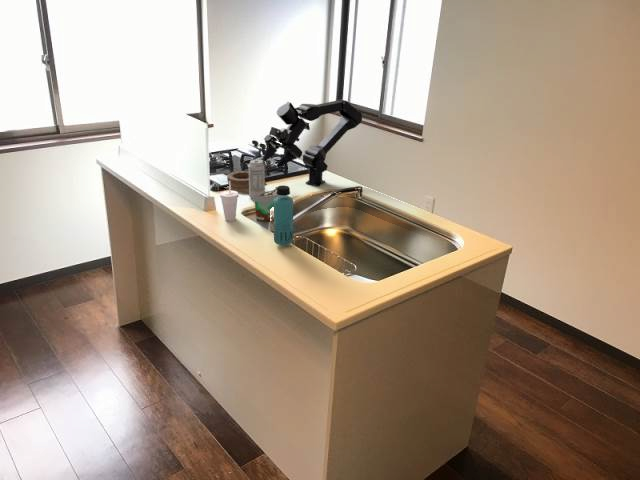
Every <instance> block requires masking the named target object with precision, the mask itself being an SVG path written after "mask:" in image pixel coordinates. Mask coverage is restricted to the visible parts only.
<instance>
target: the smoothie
mask: <svg viewBox="0 0 640 480" xmlns="http://www.w3.org/2000/svg"><path fill="white" fill-rule="evenodd" d="M219 197H220V199H221V205H222V209H223V215H224V220H225V221H228V222H230V221H231V222H232V221H235V220H237V219H236V218H237V206H238V197H239V192H236V191H233V190H231V185H230V181H229V190H224V191H223V190H222V191H221V192H220V193H219Z"/></svg>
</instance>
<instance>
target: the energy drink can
mask: <svg viewBox="0 0 640 480" xmlns="http://www.w3.org/2000/svg"><path fill="white" fill-rule="evenodd" d="M265 168H266V167H265V164H264V161H263V159H258V158H257V159H256V158H255V159H251V160H250V162H249V164H248V171H249V194H248V195H249V197H250V199H251V200H252V201H253V198H254V195H257V196H259V195H261V194H263V193H265V192H266V187H265V185H266V184H265Z"/></svg>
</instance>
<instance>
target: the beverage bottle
mask: <svg viewBox="0 0 640 480" xmlns="http://www.w3.org/2000/svg"><path fill="white" fill-rule="evenodd" d="M276 187H277V194H278V195H280V196H277V197H276V198H275V199H274V200H273V202H274V221H273V242H274V243H275V244H276V245H278V246H289V245H291V244H293V241H294V238H295V237H294V235H295V234H294V199H293V198H292V197H291V196H289V195H291V189H290V187H289V185H278V186H276Z"/></svg>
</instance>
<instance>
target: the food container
mask: <svg viewBox="0 0 640 480" xmlns="http://www.w3.org/2000/svg"><path fill="white" fill-rule="evenodd" d="M277 187H278V186H275V189H273V190H272V189H271V190H270V191H265V193H263V194H261V195H259V196H257V195H254V198H253V200H252V201H253V202H254V210H255V217H256V221H258V222H261V223H269V222H270V209H271V208H272V207H274V202H273V200H274V199H275V198H276V197H277V196H280V195H278V194H277Z"/></svg>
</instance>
